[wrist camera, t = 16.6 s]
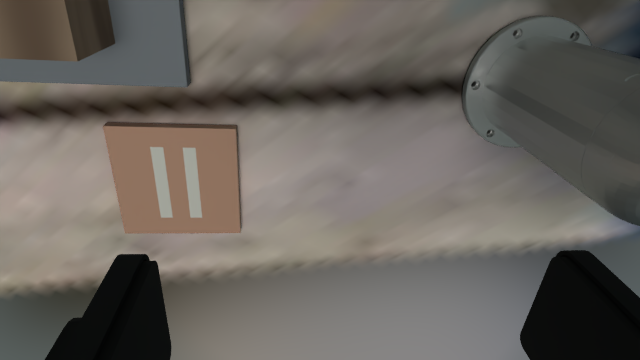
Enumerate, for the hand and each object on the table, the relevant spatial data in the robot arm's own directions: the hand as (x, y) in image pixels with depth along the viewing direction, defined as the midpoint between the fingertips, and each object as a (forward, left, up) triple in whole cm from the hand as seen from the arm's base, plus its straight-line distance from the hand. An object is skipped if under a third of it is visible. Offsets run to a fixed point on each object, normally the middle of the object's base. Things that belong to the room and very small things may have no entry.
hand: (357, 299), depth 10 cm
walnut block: (+18, -3, -29) cm, 34 cm away
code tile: (+12, +13, -30) cm, 35 cm away
